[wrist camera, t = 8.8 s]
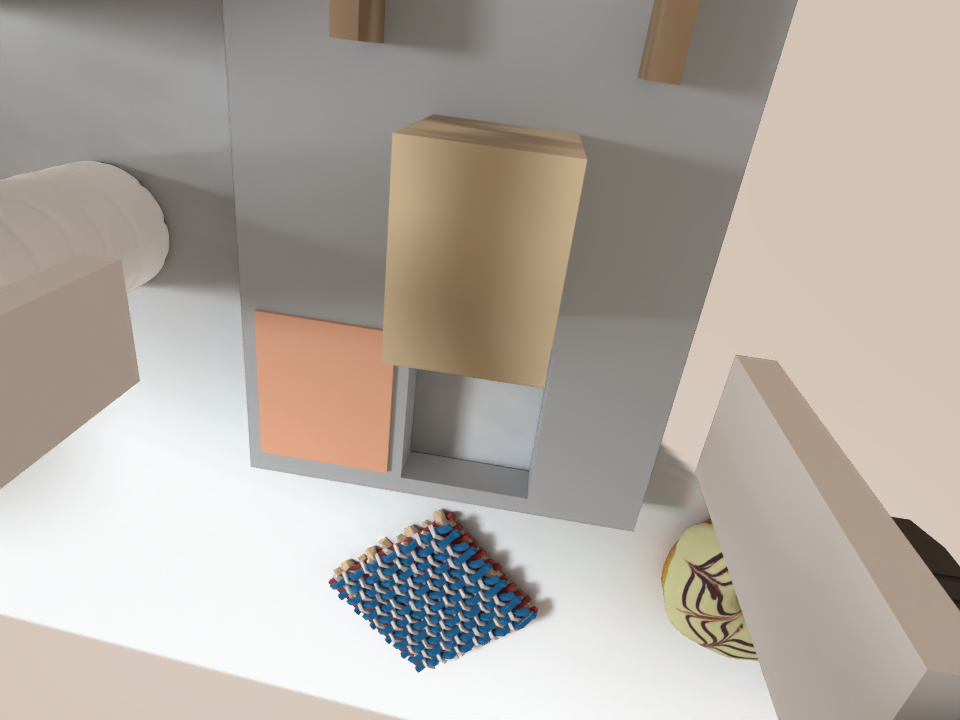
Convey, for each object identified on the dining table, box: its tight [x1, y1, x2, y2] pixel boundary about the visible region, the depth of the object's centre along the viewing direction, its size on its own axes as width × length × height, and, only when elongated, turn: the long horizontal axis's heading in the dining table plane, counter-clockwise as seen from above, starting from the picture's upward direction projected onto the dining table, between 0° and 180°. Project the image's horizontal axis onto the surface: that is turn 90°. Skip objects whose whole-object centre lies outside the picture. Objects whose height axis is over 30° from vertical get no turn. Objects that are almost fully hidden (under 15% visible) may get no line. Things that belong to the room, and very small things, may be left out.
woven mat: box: [329, 510, 537, 673], centre depth 40 cm, size 10×11×2 cm
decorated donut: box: [661, 519, 759, 661], centre depth 35 cm, size 10×11×4 cm
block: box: [381, 114, 587, 388], centre depth 23 cm, size 6×8×7 cm
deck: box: [222, 0, 797, 532], centre depth 28 cm, size 22×29×3 cm
